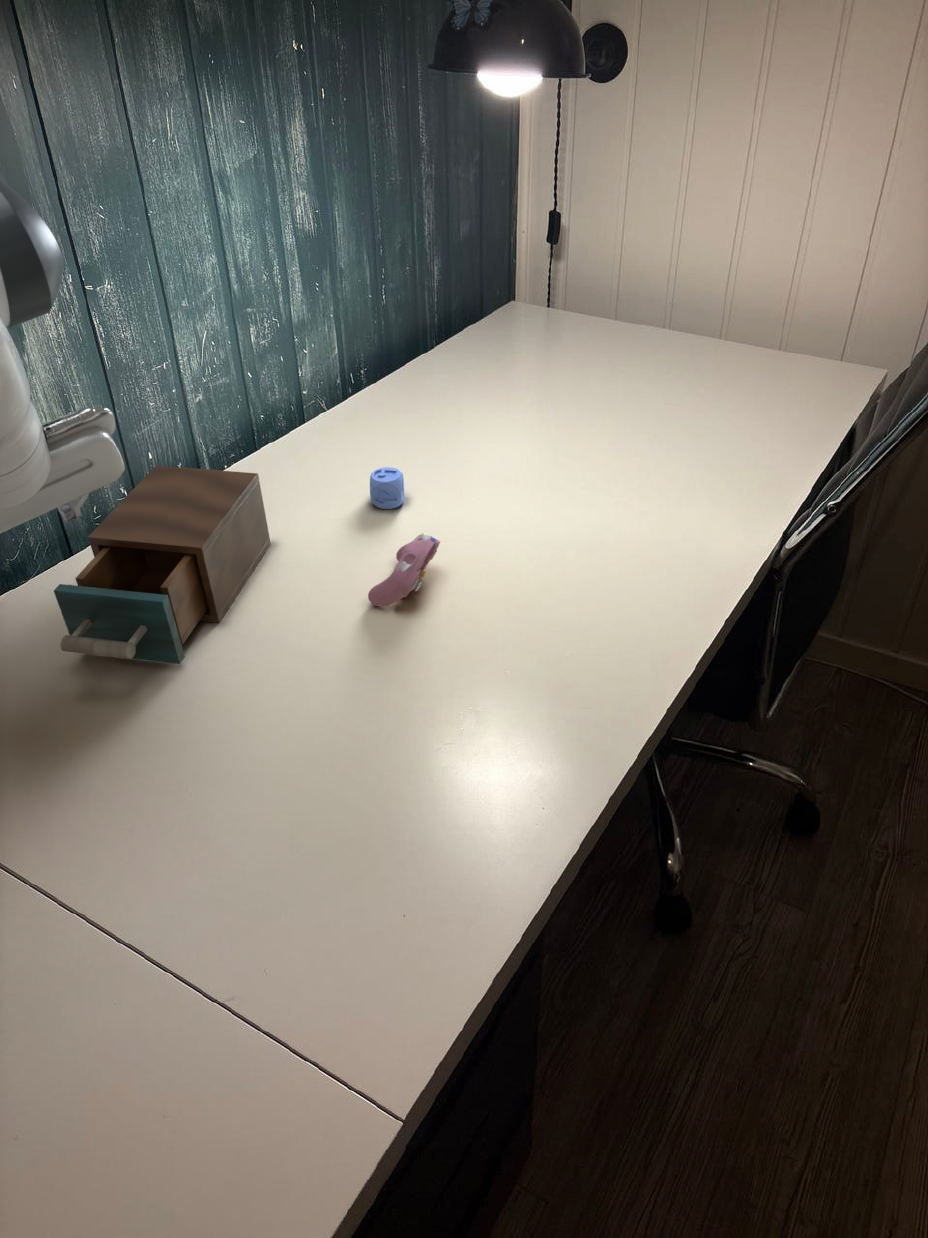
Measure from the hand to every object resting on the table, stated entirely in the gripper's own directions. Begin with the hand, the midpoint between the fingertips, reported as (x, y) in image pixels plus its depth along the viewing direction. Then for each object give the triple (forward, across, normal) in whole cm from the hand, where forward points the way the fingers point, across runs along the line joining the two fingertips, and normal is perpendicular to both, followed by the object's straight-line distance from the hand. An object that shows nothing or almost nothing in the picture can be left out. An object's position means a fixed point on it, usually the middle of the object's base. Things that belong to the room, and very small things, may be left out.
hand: (20, 536), depth 83 cm
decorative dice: (+22, -42, +5) cm, 48 cm away
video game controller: (+12, -33, +19) cm, 40 cm away
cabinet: (+20, -16, +3) cm, 25 cm away
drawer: (+14, -7, +8) cm, 18 cm away
